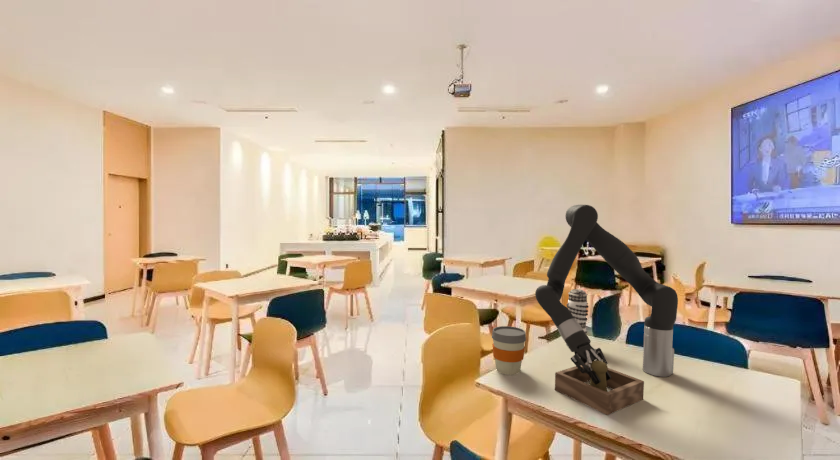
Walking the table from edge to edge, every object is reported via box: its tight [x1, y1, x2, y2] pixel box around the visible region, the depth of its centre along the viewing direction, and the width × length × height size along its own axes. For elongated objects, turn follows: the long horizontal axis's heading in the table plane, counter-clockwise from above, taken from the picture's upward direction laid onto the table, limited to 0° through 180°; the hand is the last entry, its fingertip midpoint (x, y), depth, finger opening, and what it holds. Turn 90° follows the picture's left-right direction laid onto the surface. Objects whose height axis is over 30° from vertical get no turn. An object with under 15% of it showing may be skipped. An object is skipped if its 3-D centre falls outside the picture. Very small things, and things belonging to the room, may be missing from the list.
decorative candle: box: [565, 288, 590, 346], centre depth 179 cm, size 9×9×25 cm
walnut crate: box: [554, 365, 645, 416], centre depth 133 cm, size 19×19×6 cm
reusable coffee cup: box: [491, 325, 527, 376], centre depth 152 cm, size 13×13×15 cm
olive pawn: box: [589, 360, 609, 392], centre depth 133 cm, size 6×6×11 cm
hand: (603, 381), depth 131 cm, fingers closed on olive pawn, 5 cm apart
